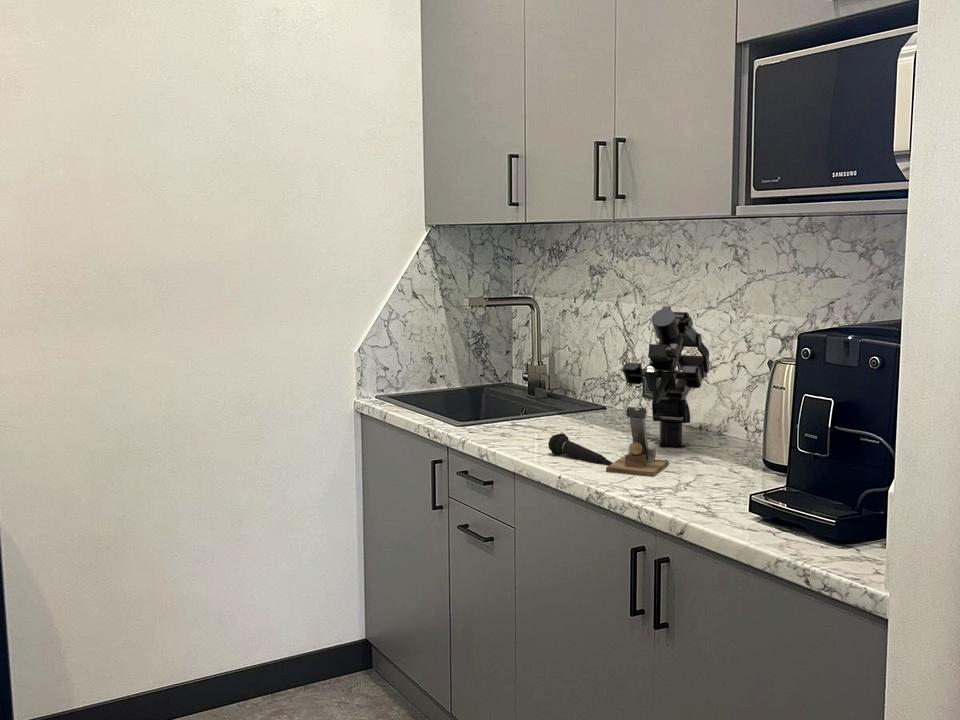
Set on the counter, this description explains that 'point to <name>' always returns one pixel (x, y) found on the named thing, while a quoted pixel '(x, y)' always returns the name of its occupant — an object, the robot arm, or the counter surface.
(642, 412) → the lever
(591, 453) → the microphone
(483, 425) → the counter surface
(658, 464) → the nutcracker base
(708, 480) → the counter surface
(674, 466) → the counter surface
